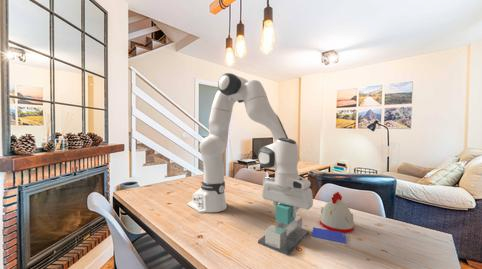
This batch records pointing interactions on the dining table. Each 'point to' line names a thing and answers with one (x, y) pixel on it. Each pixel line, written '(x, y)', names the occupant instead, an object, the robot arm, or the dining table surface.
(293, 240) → the rail panel
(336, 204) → the kitchen timer
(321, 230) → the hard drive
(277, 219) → the block
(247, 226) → the dining table surface
